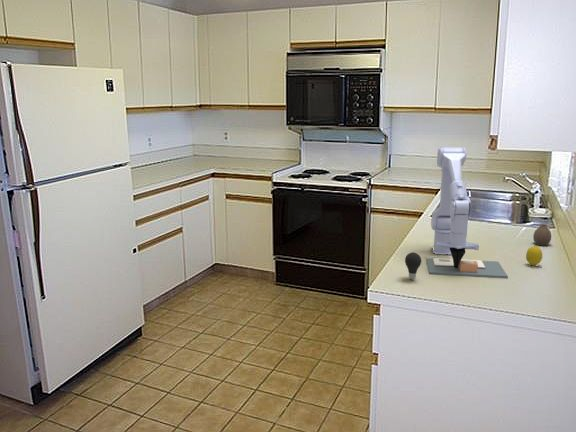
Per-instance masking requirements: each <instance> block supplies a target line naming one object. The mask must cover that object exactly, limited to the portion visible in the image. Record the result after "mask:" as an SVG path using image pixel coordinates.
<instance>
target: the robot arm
mask: <svg viewBox="0 0 576 432" xmlns="http://www.w3.org/2000/svg"><path fill="white" fill-rule="evenodd" d="M436 156H437V157H436V164H437V165H436V166H437V167H439V168H440V169H441V182H440V197H439V207H437V208H436V209H435V210H433V211H432V215H431V221H430V227H431V229H432V230H433V231H434V237H433V246H434V250H433V251H432V254H433V253H436V254H435V255H446V254H448V255H451V259H453V263H454V268H458V266H459V263H460V261H461V259H462V260H463V258H464V255H465V254H466V250H474V251H479V250H480V249H479V248H480V245H479V243H475V242H467V237H468V223H469V216H470V215H471V213H472V202H471V199H470V197H469V196H468V191H467V184H466V183H465V182H463V177H462V176H463V173H462V166H464V165H465V162H466V159H467V149H466V148H465V147H464V146H461V147H450V146H448V147H443V146H440V147H439V148H438V149H437V155H436ZM448 255H447V256H448Z"/></svg>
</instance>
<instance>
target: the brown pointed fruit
mask: <svg viewBox="0 0 576 432" xmlns="http://www.w3.org/2000/svg"><path fill="white" fill-rule="evenodd" d="M532 236H533V237H532V239H533V242H534V243H535V245H536V246H537V245H538V246H540V247H546V246H547V245H549V244H550V243H551V240H552V233H551V231H550V229H549V228H548V225H547V224H545V223H544V224H540V225H539V226H538V227H537V229H536V230H534V232H533V235H532Z"/></svg>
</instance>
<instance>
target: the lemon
mask: <svg viewBox="0 0 576 432" xmlns="http://www.w3.org/2000/svg"><path fill="white" fill-rule="evenodd" d="M525 254H526V255H525V259H526V261H527V262H528V263H529V264H530V265H531V266H532V267H533V266H534V267H535V266H536V265H538V264H540V263H541V262H542V259H543V250H542V249H541V248H540V247H538V246H537V245H534V246H530V247H529V248H527V251H526V253H525Z"/></svg>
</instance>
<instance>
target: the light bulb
mask: <svg viewBox="0 0 576 432" xmlns="http://www.w3.org/2000/svg"><path fill="white" fill-rule="evenodd" d="M404 263H405V266H406V267H407V269H408V279H410V280H411V279H414V280H416V278H417V273H418V270H419V268H420V266H421V264H422V257H421V256H420V254H418V253H417V252H409V253H408V254H407V255H406V256H405V258H404Z"/></svg>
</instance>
